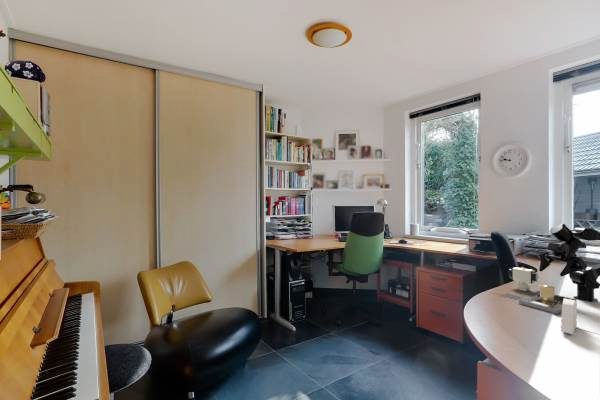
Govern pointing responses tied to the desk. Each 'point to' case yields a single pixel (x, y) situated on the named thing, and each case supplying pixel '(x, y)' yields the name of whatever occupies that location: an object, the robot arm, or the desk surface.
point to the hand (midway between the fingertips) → (550, 273)
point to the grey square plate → (512, 296)
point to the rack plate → (535, 303)
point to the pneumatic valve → (523, 277)
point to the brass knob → (547, 294)
